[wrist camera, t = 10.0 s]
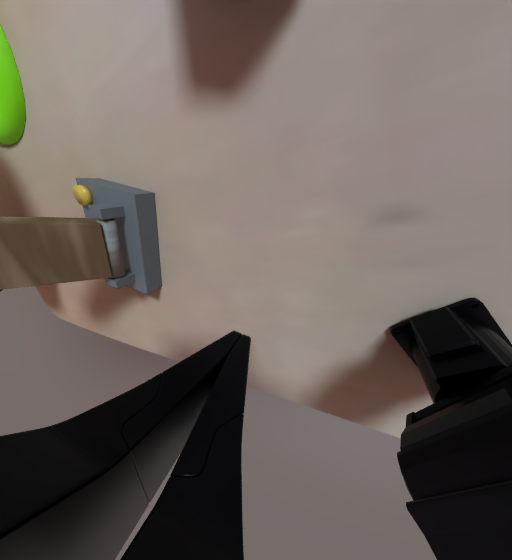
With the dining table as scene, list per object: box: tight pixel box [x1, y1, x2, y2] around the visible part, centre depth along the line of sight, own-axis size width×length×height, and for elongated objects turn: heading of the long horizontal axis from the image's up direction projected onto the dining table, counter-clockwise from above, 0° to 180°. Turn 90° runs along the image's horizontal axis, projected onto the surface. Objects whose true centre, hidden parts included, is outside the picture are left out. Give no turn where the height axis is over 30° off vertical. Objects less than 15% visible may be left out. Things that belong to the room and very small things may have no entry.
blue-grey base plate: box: [73, 178, 162, 294], centre depth 23 cm, size 8×12×5 cm, turn 169°
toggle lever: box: [0, 216, 125, 290], centre depth 18 cm, size 4×6×17 cm
